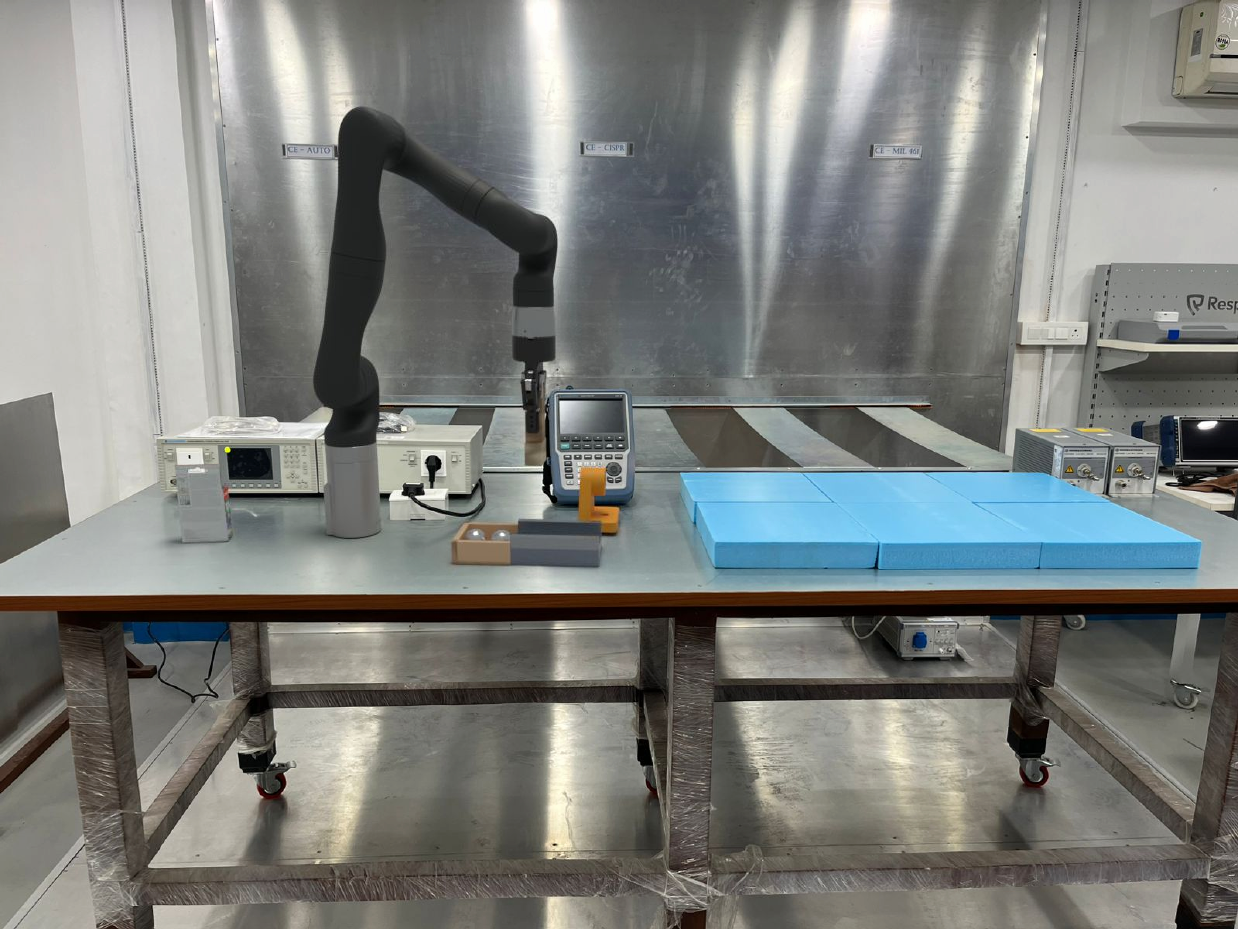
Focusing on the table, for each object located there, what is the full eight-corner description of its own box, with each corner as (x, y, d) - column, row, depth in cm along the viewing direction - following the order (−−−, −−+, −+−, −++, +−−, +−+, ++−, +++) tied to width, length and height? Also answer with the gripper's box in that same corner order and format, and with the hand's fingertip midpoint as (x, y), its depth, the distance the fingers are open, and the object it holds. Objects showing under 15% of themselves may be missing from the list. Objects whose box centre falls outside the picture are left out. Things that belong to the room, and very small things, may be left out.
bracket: (616, 536, 160) (617, 475, 157) (578, 535, 160) (578, 474, 157) (619, 520, 170) (620, 462, 167) (583, 518, 170) (583, 461, 168)
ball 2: (484, 541, 146) (503, 530, 145) (488, 533, 150) (506, 522, 149) (496, 560, 147) (515, 549, 146) (500, 551, 151) (519, 540, 150)
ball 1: (457, 542, 146) (474, 529, 146) (461, 534, 150) (478, 521, 149) (472, 559, 147) (489, 546, 146) (476, 551, 151) (493, 538, 150)
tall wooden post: (524, 465, 148) (523, 386, 145) (529, 458, 154) (528, 382, 151) (541, 466, 148) (540, 387, 145) (546, 459, 154) (545, 382, 150)
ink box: (188, 537, 155) (179, 460, 152) (233, 535, 156) (226, 459, 153) (181, 544, 152) (172, 465, 148) (228, 542, 153) (220, 464, 149)
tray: (452, 564, 144) (451, 541, 143) (465, 543, 154) (464, 522, 153) (510, 565, 143) (510, 543, 142) (519, 544, 154) (519, 523, 153)
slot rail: (510, 564, 144) (510, 536, 142) (519, 544, 154) (519, 518, 153) (598, 567, 143) (598, 539, 142) (601, 546, 153) (601, 520, 152)
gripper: (519, 329, 153) (520, 422, 157) (504, 336, 139) (506, 438, 143) (560, 330, 152) (560, 424, 156) (549, 336, 139) (550, 439, 143)
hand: (534, 430), depth 150 cm, fingers closed on tall wooden post, 3 cm apart
